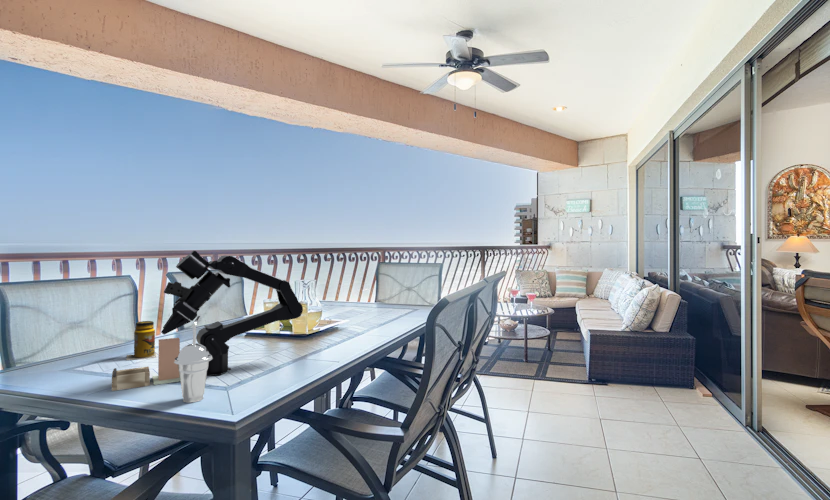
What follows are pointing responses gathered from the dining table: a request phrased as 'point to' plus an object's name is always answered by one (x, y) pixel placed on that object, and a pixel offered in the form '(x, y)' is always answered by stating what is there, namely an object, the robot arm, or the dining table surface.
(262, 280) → the robot arm
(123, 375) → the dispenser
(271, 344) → the dining table surface
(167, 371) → the pinkish tan rectangular block
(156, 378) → the pad
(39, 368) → the dining table surface
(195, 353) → the cup with straw
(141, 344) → the condiment
